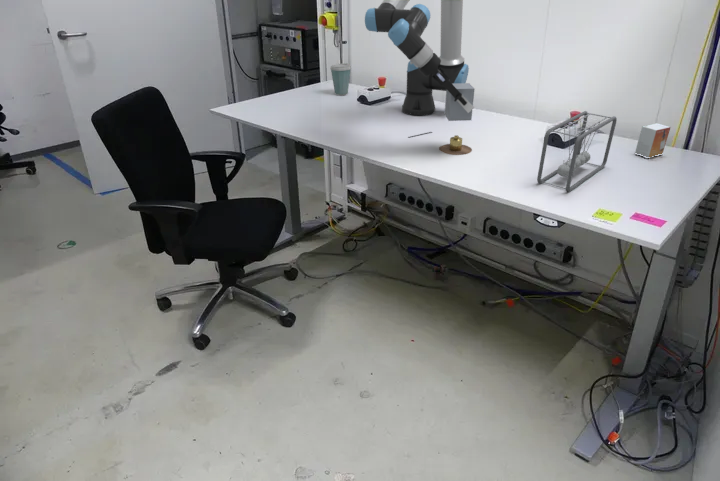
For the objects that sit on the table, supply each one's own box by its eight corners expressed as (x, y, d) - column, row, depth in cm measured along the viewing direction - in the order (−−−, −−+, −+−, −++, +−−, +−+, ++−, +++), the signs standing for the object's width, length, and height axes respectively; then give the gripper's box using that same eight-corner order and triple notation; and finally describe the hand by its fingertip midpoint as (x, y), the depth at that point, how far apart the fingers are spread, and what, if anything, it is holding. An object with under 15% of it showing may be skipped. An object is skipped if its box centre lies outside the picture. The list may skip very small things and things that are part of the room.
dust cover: (444, 114, 185) (446, 83, 179) (466, 114, 185) (469, 83, 180) (448, 120, 178) (451, 89, 173) (471, 120, 178) (474, 88, 173)
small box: (647, 159, 178) (656, 130, 173) (633, 154, 182) (641, 126, 177) (662, 155, 181) (671, 126, 176) (648, 150, 186) (656, 122, 180)
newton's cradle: (567, 194, 154) (579, 137, 145) (535, 184, 161) (545, 130, 152) (605, 166, 173) (618, 115, 164) (575, 159, 179) (586, 109, 170)
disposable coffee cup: (329, 96, 259) (327, 66, 252) (333, 91, 268) (332, 61, 261) (349, 97, 258) (348, 66, 250) (353, 91, 267) (352, 62, 259)
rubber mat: (431, 132, 207) (431, 131, 206) (450, 140, 198) (450, 139, 198) (407, 138, 201) (407, 137, 201) (426, 146, 192) (426, 145, 192)
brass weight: (455, 146, 190) (457, 133, 188) (463, 149, 187) (465, 136, 185) (446, 148, 188) (447, 135, 186) (454, 152, 185) (456, 138, 183)
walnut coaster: (456, 143, 195) (456, 141, 195) (478, 152, 186) (478, 150, 186) (432, 149, 190) (432, 147, 189) (453, 158, 181) (453, 157, 181)
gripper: (413, 62, 182) (454, 106, 190) (421, 75, 164) (466, 123, 172) (429, 46, 179) (469, 91, 188) (439, 57, 161) (483, 107, 170)
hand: (468, 106), depth 180 cm, fingers closed on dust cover, 8 cm apart
